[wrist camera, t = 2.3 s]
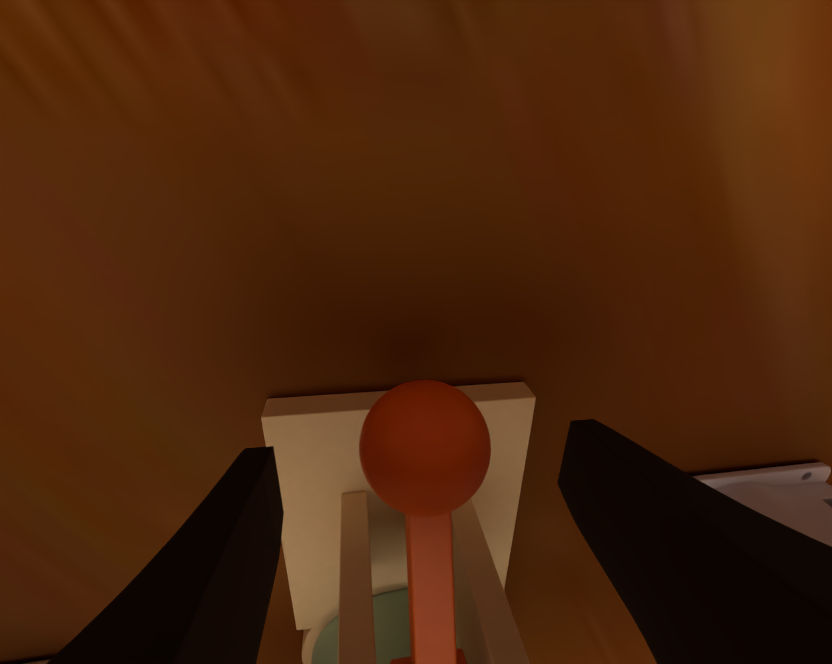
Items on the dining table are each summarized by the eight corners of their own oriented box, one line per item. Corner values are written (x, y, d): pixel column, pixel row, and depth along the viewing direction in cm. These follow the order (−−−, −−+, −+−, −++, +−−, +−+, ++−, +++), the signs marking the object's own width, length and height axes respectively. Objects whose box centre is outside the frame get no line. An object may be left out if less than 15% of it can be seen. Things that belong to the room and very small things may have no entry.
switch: (355, 375, 12) (355, 397, 8) (467, 368, 12) (509, 387, 9) (372, 735, 12) (378, 893, 9) (479, 715, 13) (523, 857, 9)
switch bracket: (267, 398, 15) (146, 762, 6) (524, 381, 16) (732, 653, 7) (299, 604, 20) (259, 973, 11) (494, 577, 21) (599, 882, 12)
